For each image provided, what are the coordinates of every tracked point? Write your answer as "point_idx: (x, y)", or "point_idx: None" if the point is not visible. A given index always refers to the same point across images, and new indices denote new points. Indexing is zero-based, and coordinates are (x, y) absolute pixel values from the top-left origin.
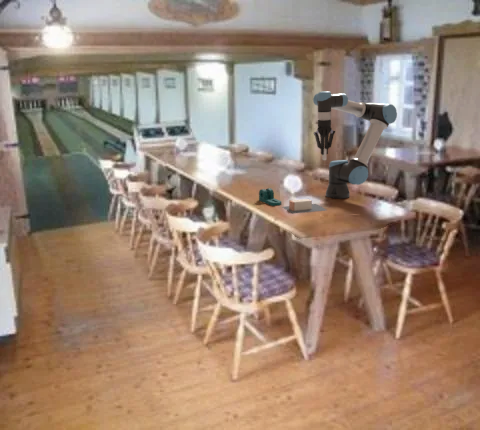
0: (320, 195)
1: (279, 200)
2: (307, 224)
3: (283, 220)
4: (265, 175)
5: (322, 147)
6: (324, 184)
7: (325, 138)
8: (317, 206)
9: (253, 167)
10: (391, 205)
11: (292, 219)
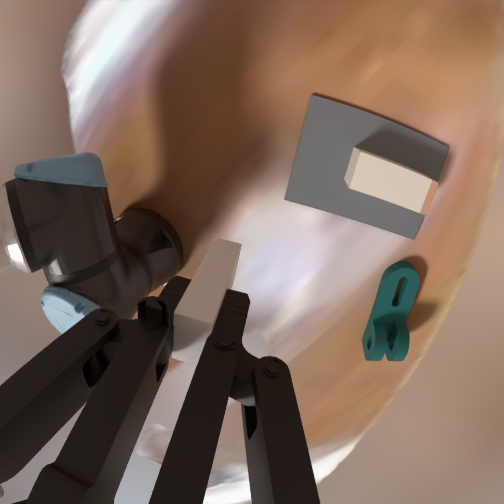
0: None
1: (383, 289)
2: (468, 34)
3: (499, 118)
4: None
5: (234, 357)
6: None
7: (113, 471)
8: (308, 162)
9: None
10: (77, 66)
11: (477, 104)
